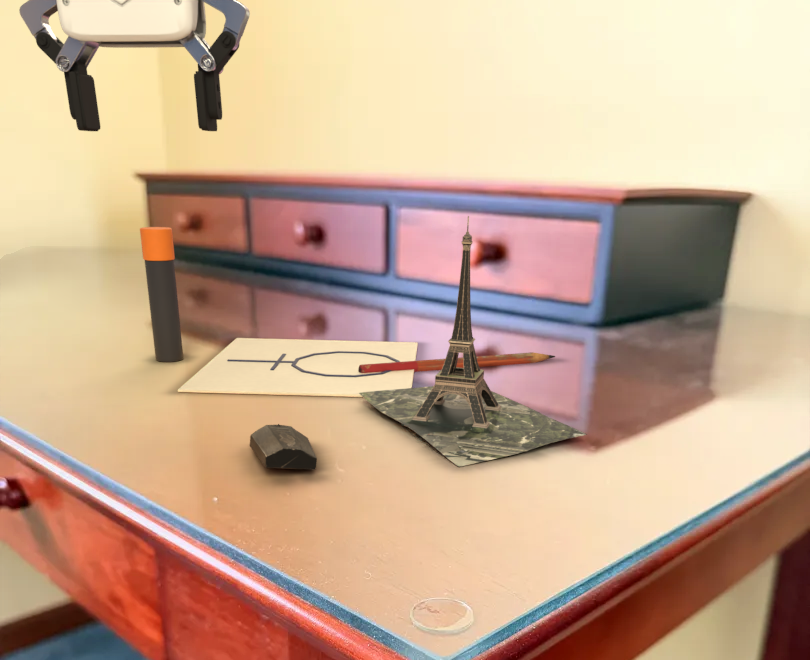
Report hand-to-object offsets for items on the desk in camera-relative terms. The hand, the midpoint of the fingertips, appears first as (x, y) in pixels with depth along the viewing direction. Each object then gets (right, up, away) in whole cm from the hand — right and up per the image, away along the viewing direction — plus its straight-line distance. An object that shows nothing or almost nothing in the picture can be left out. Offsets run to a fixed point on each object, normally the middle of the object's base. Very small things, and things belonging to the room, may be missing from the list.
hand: (148, 130), depth 65 cm
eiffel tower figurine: (+25, -25, -8) cm, 36 cm away
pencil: (+25, -18, +7) cm, 32 cm away
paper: (+12, -17, +7) cm, 22 cm away
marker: (-1, -16, +8) cm, 18 cm away
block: (+13, -28, -16) cm, 35 cm away
